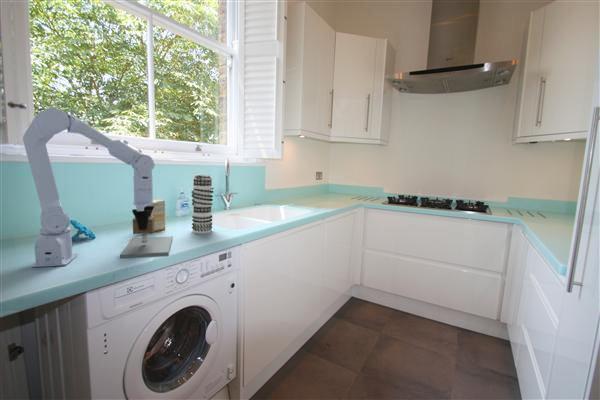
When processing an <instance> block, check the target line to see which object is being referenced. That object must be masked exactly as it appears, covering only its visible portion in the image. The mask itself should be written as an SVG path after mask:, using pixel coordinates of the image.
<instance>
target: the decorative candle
mask: <svg viewBox="0 0 600 400" xmlns="http://www.w3.org/2000/svg"><path fill="white" fill-rule="evenodd" d="M192 179H193V185H192V189H193V190H191V197H192V198H191V201H192V203H191V205H192V206H193V211H192V216H191V217H192V219H191V222H192V223H191V226H192V227H191V229H192V233H194V234H209V233H212V232H213V226H212V225H213V222H212V221H213V219H212V218H213V215H212V214H213V213H212V207H213V205H214V204H213V203H212V202H213V201H214V199H213V198H214V195H212V194H213V193H214V187H213V185H212V183H213V182H212V181H213V178H212V177H211V176H210V175H209V174H196V175H194V176H193V178H192Z"/></svg>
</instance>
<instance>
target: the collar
mask: <svg viewBox="0 0 600 400" xmlns="http://www.w3.org/2000/svg"><path fill="white" fill-rule="evenodd" d="M154 232H155V231H154V216H149V218H148V224H147V229H146V230H139V227H138V224H137V220H136V218H135V217H133V219H132V233H133V235H138V234H141V235H142V234H153V233H154Z"/></svg>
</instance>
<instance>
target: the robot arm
mask: <svg viewBox="0 0 600 400" xmlns="http://www.w3.org/2000/svg"><path fill="white" fill-rule="evenodd" d="M30 122H31V123H30V124H29V125H28V127H27V129H26V131H25V132H24V134H23V135H22V141H23V144H24V149H25V153H26V156H27V160H28V164H29V167H30V171H31V176H32V178H33V181H34V185H35V189H36V192H37V193H36V194H37V197H38V200H39V204H40V208H41V213H40V226H41V228H40V229H39V231H38V233H39V238H38V239H37V240H36V242H35V244H34V256H35V258H34V259H35V263H33V264H32V265H31V267H32V268H41V267H55V266H56V267H57V266H67V265H68V264H69V263H70V262H72V261H73V260H74V259H75V258H77V256H78V255H79V254H78V253H73V240H72V228H71V227H70V225H71V224H70V223H71V222H70V221H71V220H70V217H69V216H68V213H67V211H66V210H65V209H64V208H63V206H62V203H61V200H60V196H59V191H58V187H57V184H56V179H55V176H54V172H53V168H52V164H51V160H50V156H49V152H48V148H47V144H48V142H49V141H50V140H51V139H52V138H54V136H55V135H57V134H60V133H61V132H63V131H65V130H66V129H67V133H70V134H79V135H82V136H84V137H85V138H87V139H89V140H91V141H93V142H95V143H96V144H98V145H100V146H102V147H104V148H106V149H107V150H108V153H109V154H108V155H110V156H112V157H114V158H115V159H117V160H119V161H121V162H122V163H125V164H126V165H129V166H131V168H133V176H132V177H133V200H134V201H133V205H134V206H135V207H136V208H135V209H132V210H131V212H132V214H133V216H134V218H136V220H137V224H138V227H139V230H146V229H147V224H148V218H149V216H151V213H152V210H153V208H154V206H152V205H153V204H157V202H153V200H154V196H153V195H154V193H153V169H154V168H155V162H154V159H153V158H152V157H151V156H150V155H148V154H143V150H141V149H137V148H135V147H133V146H132V145H130V144H129V142H128V141H127V140H122V139H116V140H114V139H112V138H111V137H109V136H107V135H106V134H104V133H103V132H101V131H99V130H98V129H96V128H94V127H93V126H92V125H90V124H88V123H87V122H86V121H83V120H82V119H80V118H78V117H76V116H75V115H72V114H70V113H68V114H67V113H66V112H65V111H63V110H62V109H60V108H56V107H47V108H44V109H43V110H42V111H41V112H39V113H37V114H36V115H35V116H34V118H33V119H32V121H30Z"/></svg>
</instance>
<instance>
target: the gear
mask: <svg viewBox="0 0 600 400" xmlns="http://www.w3.org/2000/svg"><path fill="white" fill-rule="evenodd" d="M69 225H72V227H73V228H74V229H77V231H76V233H75V234H74V235H73V236H71V238H72V241H74V240H75V239H76V238H77V237H80V235H84V236H86V237H88V238H89V239H90V240H91V239H92V240H95V239H96V238H97V237H96V235H95V234H94V233H93V231H91V230H90V229H89V228H88V227H87V226H86V225H83V224H82V223H81V222H78V221H77V220H74V219H71V220H70V224H69Z"/></svg>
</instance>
